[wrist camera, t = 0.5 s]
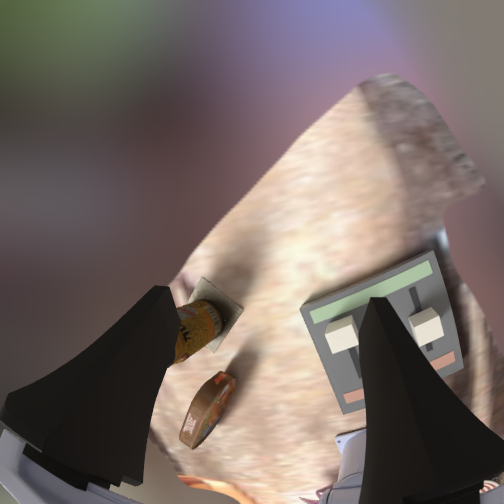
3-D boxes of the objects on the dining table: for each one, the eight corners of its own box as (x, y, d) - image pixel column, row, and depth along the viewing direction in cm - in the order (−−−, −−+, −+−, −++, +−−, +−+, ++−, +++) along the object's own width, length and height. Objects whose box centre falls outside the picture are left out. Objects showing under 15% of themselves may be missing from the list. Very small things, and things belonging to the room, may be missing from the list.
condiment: (177, 321, 41) (122, 347, 30) (202, 276, 39) (145, 293, 28) (214, 352, 39) (167, 390, 28) (244, 309, 37) (198, 340, 26)
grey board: (459, 361, 28) (463, 368, 26) (344, 406, 33) (343, 415, 31) (428, 249, 29) (433, 250, 27) (302, 304, 35) (299, 309, 33)
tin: (213, 431, 41) (189, 460, 33) (198, 421, 42) (172, 448, 34) (244, 369, 38) (218, 399, 30) (225, 359, 39) (196, 385, 31)
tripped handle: (436, 325, 27) (444, 335, 24) (413, 335, 28) (419, 346, 25) (430, 306, 27) (439, 315, 24) (408, 317, 28) (413, 327, 25)
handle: (358, 332, 30) (359, 344, 27) (334, 341, 31) (332, 354, 28) (351, 314, 30) (351, 324, 27) (327, 323, 31) (324, 334, 28)
